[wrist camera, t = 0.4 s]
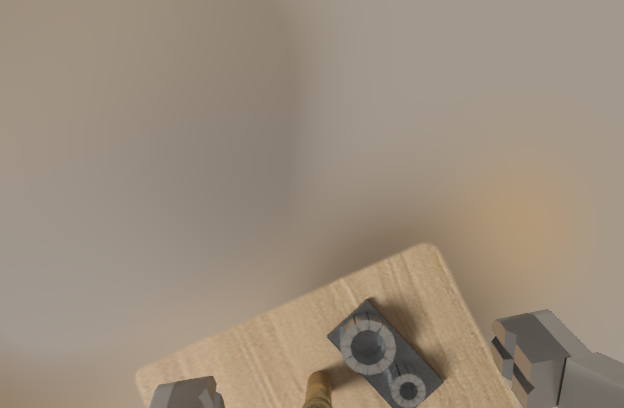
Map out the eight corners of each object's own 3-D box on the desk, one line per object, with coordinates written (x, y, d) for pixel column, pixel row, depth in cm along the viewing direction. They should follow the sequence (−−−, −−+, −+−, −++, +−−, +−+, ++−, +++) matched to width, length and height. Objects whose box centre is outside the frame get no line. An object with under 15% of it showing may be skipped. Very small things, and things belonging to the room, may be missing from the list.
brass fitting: (339, 384, 62) (340, 418, 52) (319, 402, 63) (316, 440, 53) (320, 363, 63) (318, 394, 53) (300, 382, 63) (294, 416, 53)
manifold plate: (441, 379, 62) (450, 393, 57) (401, 415, 62) (407, 432, 57) (366, 299, 62) (369, 306, 58) (327, 335, 62) (327, 345, 58)
